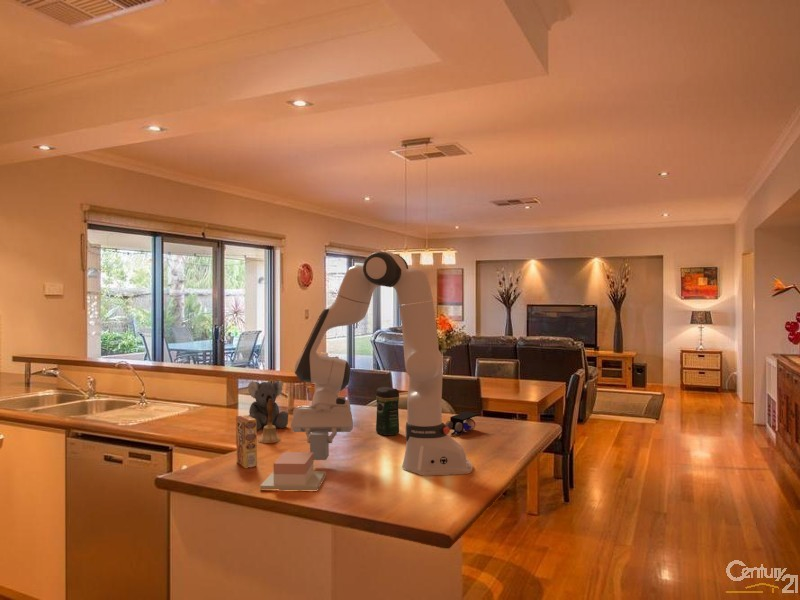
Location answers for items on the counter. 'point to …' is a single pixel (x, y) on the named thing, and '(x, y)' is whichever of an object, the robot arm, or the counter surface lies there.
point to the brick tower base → (295, 487)
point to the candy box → (246, 441)
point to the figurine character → (461, 422)
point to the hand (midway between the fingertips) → (319, 442)
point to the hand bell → (269, 427)
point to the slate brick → (319, 445)
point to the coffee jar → (387, 411)
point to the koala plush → (259, 407)
